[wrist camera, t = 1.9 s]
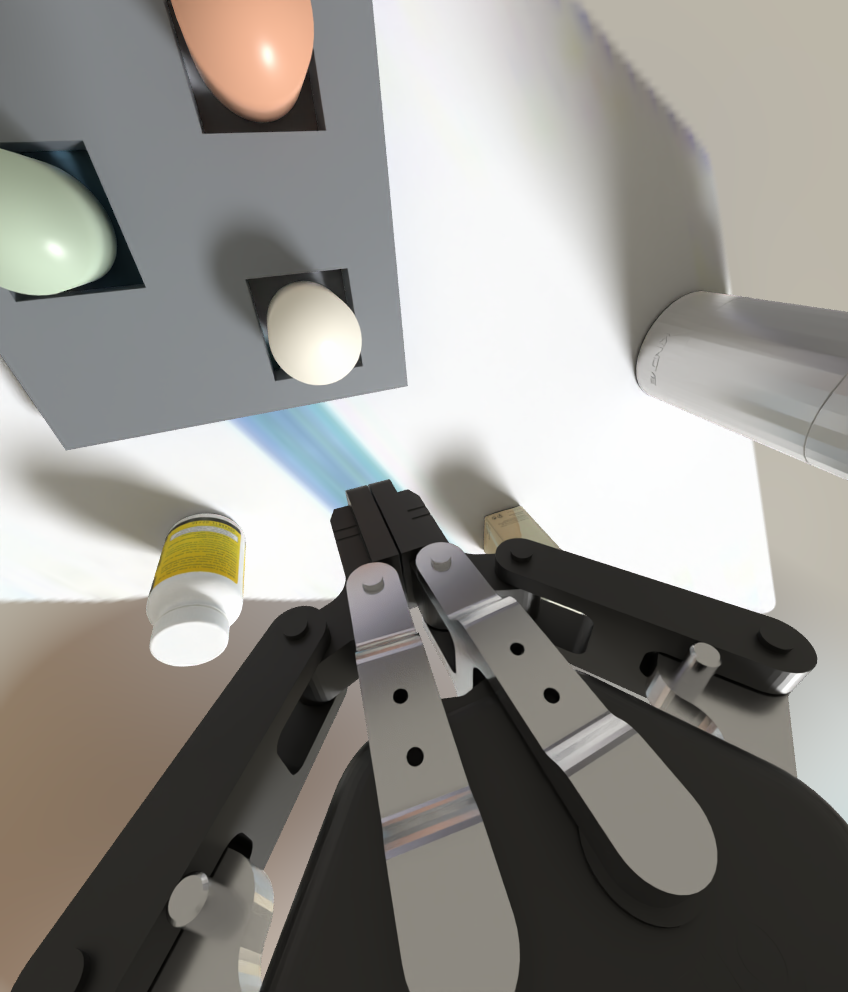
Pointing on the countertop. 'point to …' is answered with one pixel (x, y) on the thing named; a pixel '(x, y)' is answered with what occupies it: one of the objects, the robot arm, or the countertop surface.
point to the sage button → (50, 229)
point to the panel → (194, 221)
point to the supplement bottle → (196, 590)
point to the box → (514, 532)
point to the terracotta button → (250, 51)
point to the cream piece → (312, 333)
